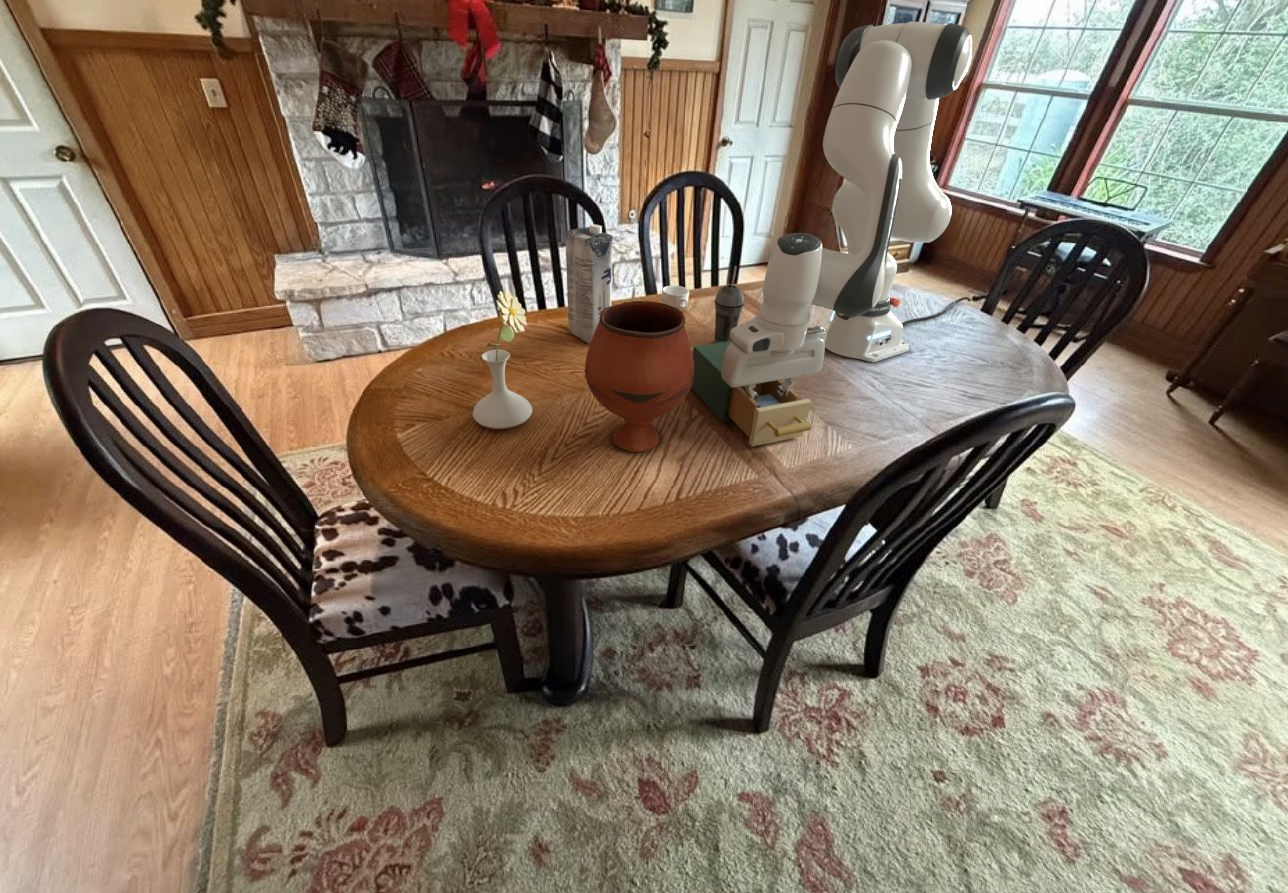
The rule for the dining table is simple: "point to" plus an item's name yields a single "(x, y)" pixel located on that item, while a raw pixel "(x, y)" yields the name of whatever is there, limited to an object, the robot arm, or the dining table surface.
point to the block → (766, 401)
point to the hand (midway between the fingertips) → (766, 398)
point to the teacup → (675, 296)
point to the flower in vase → (503, 373)
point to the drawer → (769, 414)
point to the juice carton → (588, 278)
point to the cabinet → (711, 377)
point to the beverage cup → (727, 310)
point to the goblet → (639, 367)
